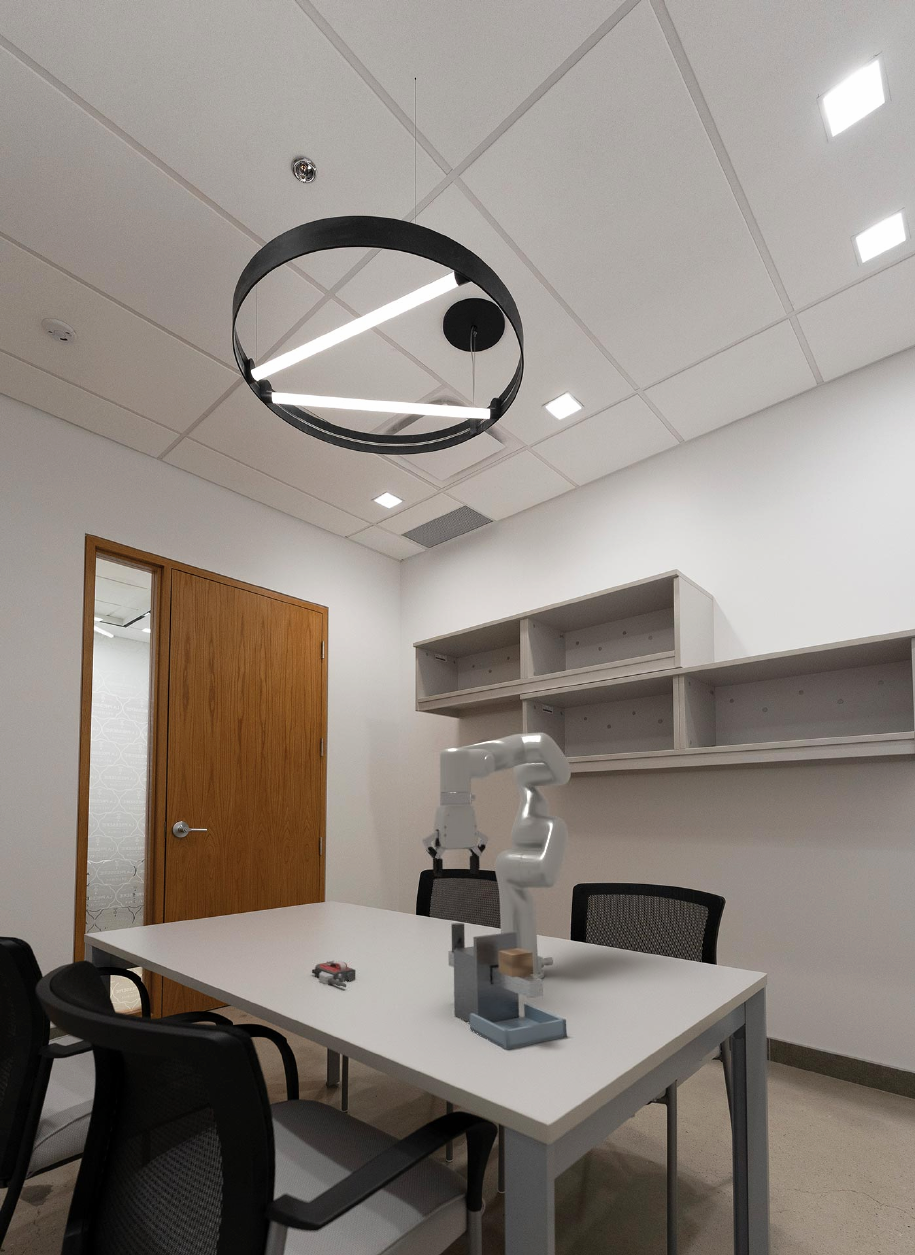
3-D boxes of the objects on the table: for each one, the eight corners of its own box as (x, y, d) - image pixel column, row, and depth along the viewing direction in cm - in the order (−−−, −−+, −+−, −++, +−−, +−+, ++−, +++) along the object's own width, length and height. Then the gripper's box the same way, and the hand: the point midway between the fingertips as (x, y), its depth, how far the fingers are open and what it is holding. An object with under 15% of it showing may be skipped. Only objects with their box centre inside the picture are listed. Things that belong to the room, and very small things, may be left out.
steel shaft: (459, 963, 165) (459, 922, 167) (543, 996, 137) (541, 946, 139) (448, 965, 164) (448, 923, 166) (530, 998, 136) (528, 947, 138)
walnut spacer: (519, 969, 146) (518, 948, 147) (533, 974, 142) (532, 952, 143) (498, 972, 144) (498, 951, 145) (512, 977, 140) (511, 955, 140)
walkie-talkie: (304, 977, 189) (341, 993, 173) (304, 959, 190) (341, 973, 174) (333, 972, 194) (372, 986, 179) (334, 955, 195) (372, 967, 180)
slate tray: (527, 1019, 149) (527, 1003, 150) (566, 1036, 138) (566, 1019, 139) (470, 1030, 143) (469, 1013, 143) (506, 1049, 131) (505, 1031, 132)
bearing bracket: (494, 1008, 157) (492, 926, 161) (519, 1020, 149) (516, 932, 153) (454, 1015, 152) (453, 930, 156) (478, 1028, 144) (476, 937, 148)
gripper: (478, 800, 178) (480, 871, 174) (416, 800, 170) (416, 876, 166) (494, 799, 172) (496, 874, 168) (430, 800, 164) (430, 878, 160)
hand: (456, 875), depth 167 cm, fingers open, 9 cm apart
